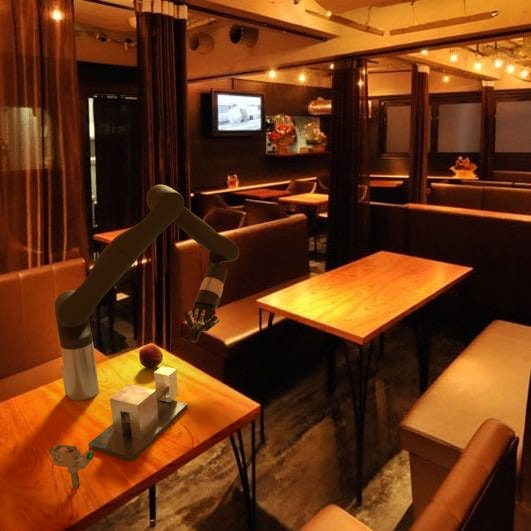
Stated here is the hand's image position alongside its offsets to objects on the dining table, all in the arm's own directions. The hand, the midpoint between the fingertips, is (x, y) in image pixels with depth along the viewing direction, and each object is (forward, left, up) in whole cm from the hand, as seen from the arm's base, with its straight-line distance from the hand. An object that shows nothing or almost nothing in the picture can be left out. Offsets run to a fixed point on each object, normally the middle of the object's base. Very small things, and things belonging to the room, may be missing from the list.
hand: (193, 341), depth 161 cm
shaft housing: (0, -29, -13) cm, 32 cm away
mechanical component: (0, -54, -13) cm, 56 cm away
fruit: (-18, +1, -13) cm, 22 cm away
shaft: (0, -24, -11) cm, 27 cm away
